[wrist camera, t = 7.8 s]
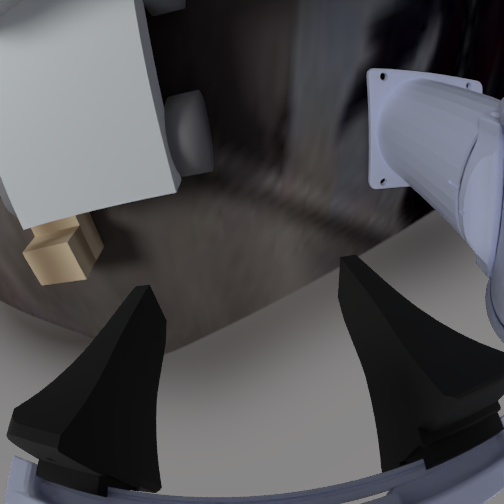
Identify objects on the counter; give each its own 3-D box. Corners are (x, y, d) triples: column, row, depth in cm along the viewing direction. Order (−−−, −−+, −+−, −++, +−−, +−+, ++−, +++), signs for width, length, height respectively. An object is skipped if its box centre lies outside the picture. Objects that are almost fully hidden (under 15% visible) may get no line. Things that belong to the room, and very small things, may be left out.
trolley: (179, -46, 10) (123, -129, 2) (215, 156, 18) (197, 257, 9) (3, 36, 10) (-108, 60, 2) (47, 198, 18) (-33, 290, 10)
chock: (80, 186, 18) (54, 214, 15) (105, 244, 21) (86, 279, 18) (37, 200, 18) (9, 228, 15) (62, 253, 21) (41, 285, 18)
